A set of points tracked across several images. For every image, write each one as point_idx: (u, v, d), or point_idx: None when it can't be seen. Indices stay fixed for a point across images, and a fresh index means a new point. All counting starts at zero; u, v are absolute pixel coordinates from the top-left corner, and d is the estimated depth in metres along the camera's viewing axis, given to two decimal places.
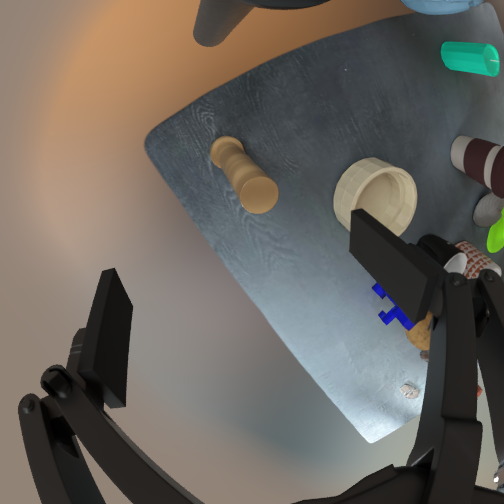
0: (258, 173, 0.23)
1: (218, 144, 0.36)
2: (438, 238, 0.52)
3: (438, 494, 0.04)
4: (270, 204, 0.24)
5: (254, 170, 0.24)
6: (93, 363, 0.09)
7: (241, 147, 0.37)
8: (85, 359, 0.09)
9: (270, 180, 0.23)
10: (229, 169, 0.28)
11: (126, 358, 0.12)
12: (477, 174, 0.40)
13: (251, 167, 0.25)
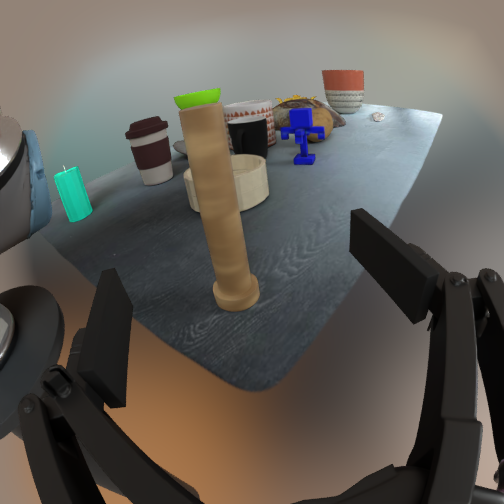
0: None
1: (226, 296, 0.27)
2: (234, 150, 0.65)
3: (438, 494, 0.04)
4: (207, 104, 0.20)
5: (183, 136, 0.20)
6: (93, 363, 0.09)
7: None
8: (85, 359, 0.09)
9: None
10: (210, 188, 0.21)
11: (126, 358, 0.12)
12: (162, 146, 0.59)
13: (186, 147, 0.21)
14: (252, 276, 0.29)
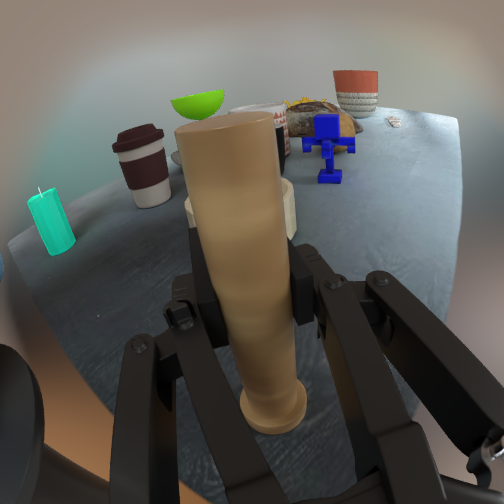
0: (180, 157, 0.09)
1: (262, 419, 0.16)
2: None
3: None
4: (237, 113, 0.10)
5: (187, 188, 0.09)
6: (215, 295, 0.11)
7: None
8: (203, 293, 0.11)
9: (181, 126, 0.09)
10: (249, 298, 0.11)
11: None
12: (157, 161, 0.49)
13: (193, 212, 0.10)
14: (297, 382, 0.18)
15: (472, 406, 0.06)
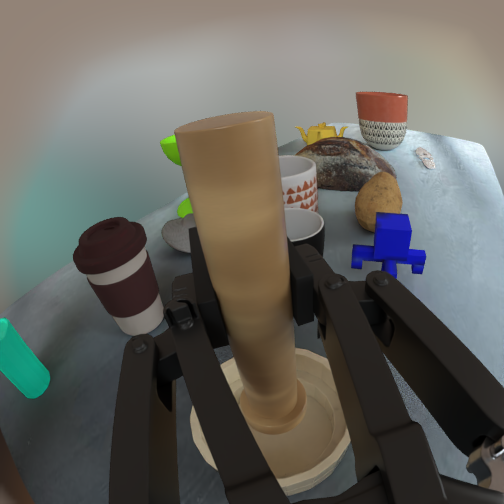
0: (180, 157, 0.09)
1: (262, 419, 0.16)
2: None
3: None
4: (237, 113, 0.10)
5: (187, 188, 0.09)
6: (215, 295, 0.11)
7: None
8: (203, 293, 0.11)
9: (181, 126, 0.09)
10: (249, 298, 0.11)
11: None
12: (139, 283, 0.34)
13: (193, 212, 0.10)
14: (297, 383, 0.18)
15: (472, 406, 0.06)
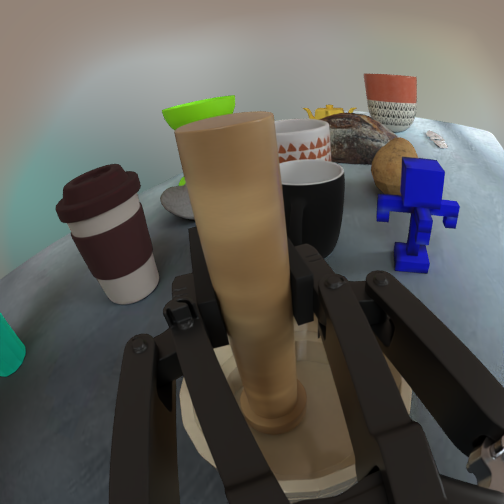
0: (180, 157, 0.09)
1: (262, 419, 0.16)
2: None
3: None
4: (237, 113, 0.10)
5: (187, 188, 0.09)
6: (215, 295, 0.11)
7: None
8: (203, 293, 0.11)
9: (181, 126, 0.09)
10: (249, 298, 0.11)
11: None
12: (129, 236, 0.28)
13: (193, 212, 0.10)
14: (297, 382, 0.18)
15: (472, 406, 0.06)
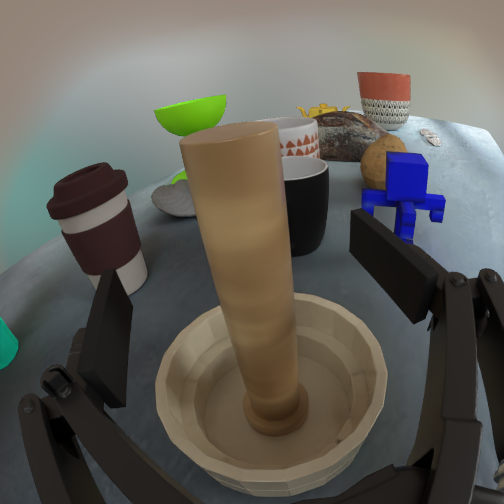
0: (185, 168, 0.09)
1: (265, 422, 0.17)
2: None
3: (438, 494, 0.04)
4: (241, 123, 0.10)
5: (192, 198, 0.10)
6: (93, 364, 0.09)
7: None
8: (85, 359, 0.09)
9: (186, 137, 0.09)
10: (253, 305, 0.11)
11: (126, 358, 0.12)
12: (116, 232, 0.29)
13: (198, 222, 0.10)
14: (299, 385, 0.19)
15: None
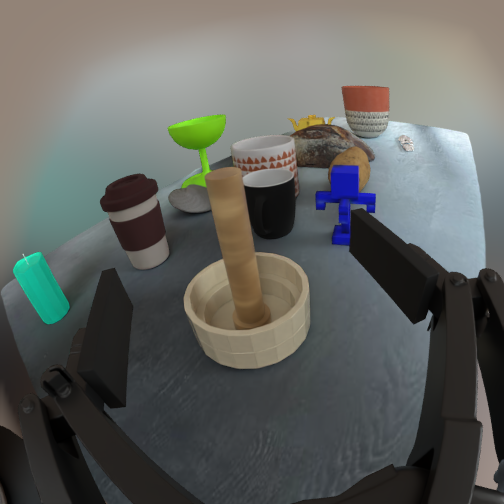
0: None
1: (244, 324, 0.32)
2: (251, 219, 0.50)
3: (438, 494, 0.04)
4: (228, 168, 0.26)
5: (209, 198, 0.25)
6: (93, 364, 0.09)
7: None
8: (85, 359, 0.09)
9: (206, 174, 0.25)
10: (233, 242, 0.27)
11: (126, 358, 0.12)
12: (151, 221, 0.45)
13: (211, 208, 0.26)
14: (265, 306, 0.34)
15: None
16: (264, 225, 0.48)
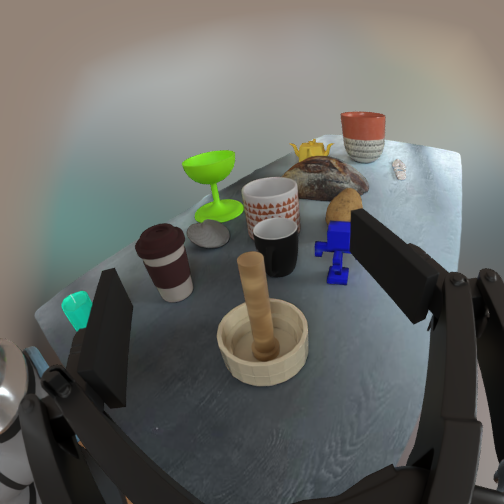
0: None
1: (260, 353, 0.43)
2: None
3: (438, 494, 0.04)
4: (253, 252, 0.37)
5: (240, 276, 0.37)
6: (93, 364, 0.09)
7: None
8: (85, 359, 0.09)
9: (238, 258, 0.36)
10: (256, 304, 0.38)
11: (126, 358, 0.12)
12: (180, 265, 0.56)
13: (241, 281, 0.37)
14: (275, 339, 0.46)
15: None
16: (272, 267, 0.60)
